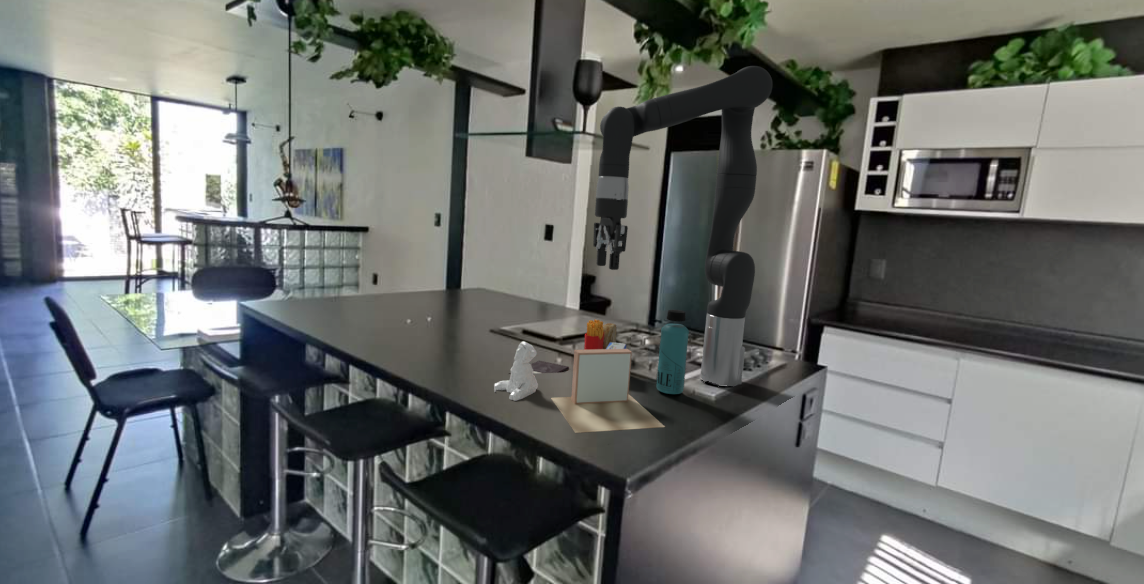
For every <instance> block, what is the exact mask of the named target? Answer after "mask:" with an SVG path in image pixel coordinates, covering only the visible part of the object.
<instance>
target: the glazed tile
mask: <svg viewBox="0 0 1144 584" xmlns="http://www.w3.org/2000/svg"><path fill="white" fill-rule="evenodd" d="M632 352H633V351H631V350H630V349H628V348H626V349H591V350H584V349H574V351H573V366H572V367H573V368H572V382H571V383H572V384H571V396H570V397H571V400H572V402H573V403H574V404H586V403H606V402H626V401H628V394H629V391H630V378H631V367H632V366H631V365H632V356H633V353H632Z"/></svg>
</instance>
